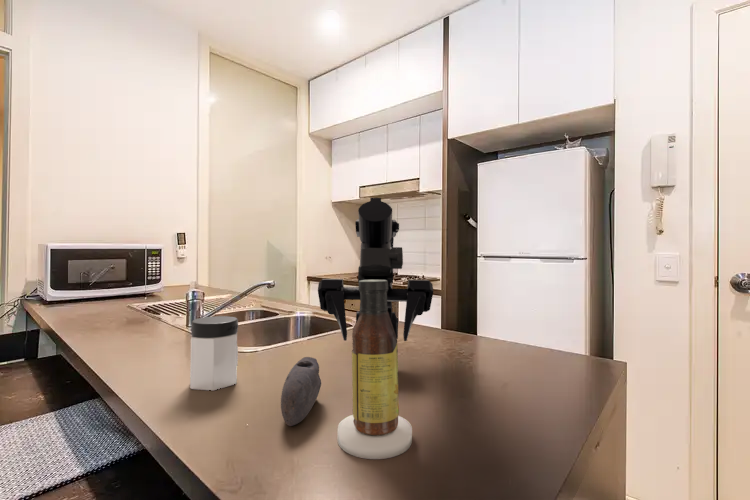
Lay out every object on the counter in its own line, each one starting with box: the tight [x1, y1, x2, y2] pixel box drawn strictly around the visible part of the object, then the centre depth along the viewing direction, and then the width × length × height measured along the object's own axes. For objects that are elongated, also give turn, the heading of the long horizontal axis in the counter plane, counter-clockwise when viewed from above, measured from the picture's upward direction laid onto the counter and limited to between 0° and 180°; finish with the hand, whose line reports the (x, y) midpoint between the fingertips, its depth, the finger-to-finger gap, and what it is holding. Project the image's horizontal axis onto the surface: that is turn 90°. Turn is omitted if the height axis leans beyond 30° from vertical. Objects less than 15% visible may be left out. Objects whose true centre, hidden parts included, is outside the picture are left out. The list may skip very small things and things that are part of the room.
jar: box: [189, 315, 239, 392], centre depth 70 cm, size 9×8×12 cm
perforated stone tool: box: [280, 356, 322, 427], centre depth 58 cm, size 15×5×7 cm, turn 177°
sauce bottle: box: [351, 280, 400, 436], centre depth 50 cm, size 6×6×20 cm
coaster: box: [337, 414, 413, 460], centre depth 50 cm, size 10×10×2 cm
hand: (375, 339), depth 56 cm, fingers open, 9 cm apart
